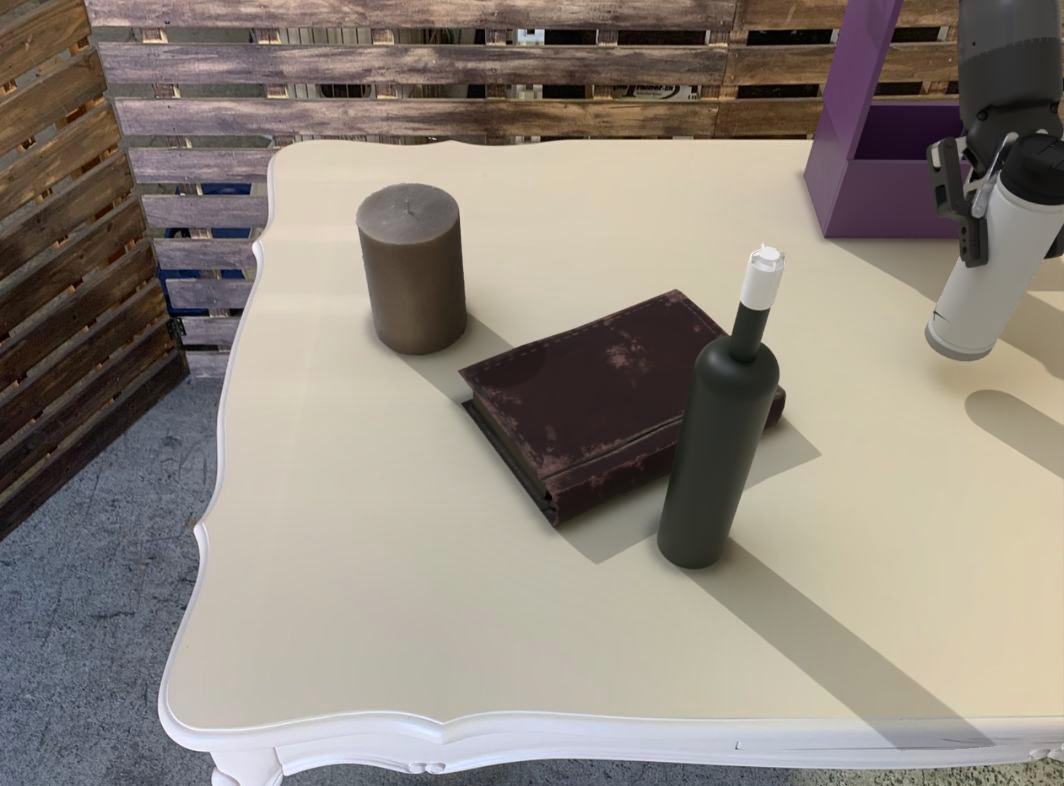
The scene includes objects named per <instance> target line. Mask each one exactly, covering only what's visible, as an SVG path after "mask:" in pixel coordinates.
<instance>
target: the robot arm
mask: <svg viewBox="0 0 1064 786" xmlns="http://www.w3.org/2000/svg"><path fill="white" fill-rule="evenodd" d="M1062 19H1063V18H1062V3H1061V0H958V17H957V27H956V55H957V83H958V102H959V111H960V119H961V121H962V122H963V124H964V127H963V131H962V134H961V136H960V138H954V137H951V136H950V137H947V138H945V139H943V140H940V141H938V142H936V143H934V144H932V145H930V146H929V147H928V148H927V151H926V155H927V162H928V169H929V176H930V182H931V189H932V196H933V203H934V210H935V214H936V216H938V217H940V218H942V217H947V218H951V219H954V220H955V221H956V222H957V223H958V226H959V239H958V243H959V256H960V257H961V260H962V262H964V261H965V266H966V267H967V268H974V267H979V266H984V265H986V264H987V263H988V260H989V255H988V226H987V218H985V219H982V216H983V215H984V214H985V212H986V209H987V207H988V204H989V197H990V194H991V191H992V189H993V187H994V185H995V184H996V183H997V177H998V174H999V172H1000V170H1001V169H1002V167H1003V165H1004V164H1005V161H1006V159H1007V157H1008V155H1009V153H1010V151H1011V148H1012V146H1013V144H1014V142H1015V140H1016V138H1018V137H1019V136H1020V135H1023V134H1027V133H1045V134H1051V135H1054V136H1058V137H1059V139H1058V140H1063V141H1064V123H1063V120H1061V117H1060V114H1059V107H1060V102H1061V101H1062V98H1063V96H1064V75H1063V24H1062V21H1063V20H1062ZM963 155H964V157H965V158H966V159H967V161H968V162H969V163H970V165H971V168H970V171H969V173H968V176H967V178H966V181H965V183H964V186H963V184H962V177H961V170H960V162H961V160H962V157H963ZM1063 255H1064V224H1063V225H1062V227H1061V229H1060V231H1059V232H1058V234H1057V236H1056V238H1055V239H1054V241H1053V243H1052V245H1051V246H1050V248H1049V250H1048V252H1047V253H1046V255H1045V257H1044V259H1043V260H1051V259H1055V258H1059V257H1060V258H1061V257H1063Z"/></svg>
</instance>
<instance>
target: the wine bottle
mask: <svg viewBox="0 0 1064 786" xmlns="http://www.w3.org/2000/svg"><path fill="white" fill-rule="evenodd" d="M786 253H787V250H784V251H779V250H778V249H776V248H775V247H772V246H766V245H765V244H764V242H762V243H761V246H760V249H756V250H754V251H753V252H751V254H750V255H749V258H748V262H747V266H746V269H745V274H744V278H743V281H742V285H741V290H740V293H739V303H738V307H737V311H736V315H735V320H734V323H733V327H732V331H731V333H730V334H731V335H730V334H728V335H729V336H724V337H721V338H718V339H716V340H714V341H712V342H710V343H709V344H708V345H706V346H705V347H704V348H703V350H702V351H701V352H700V354H699V355H698V357H697V359H696V362H695V365H694V370H693V375H692V379H691V384H690V388H689V393H688V397H687V402H686V406H685V411H684V415H683V420H682V424H681V429H680V434H679V438H678V443H677V447H676V452H675V456H674V461H673V465H672V470H671V473H669V474H670V476H669V479H668V482H667V483H668V484H667V489H666V493H665V498H664V501H663V506H662V512H661V516H660V520H659V525H658V529H657V533H656V544H657V547H658V550H659V551H660V553H661V555H662V556H663V557H664V559H666V560H667V561H668V562H670V563H671V564H673V565H674V566H677V567H680V568H682V569H688V570H701V569H702V570H703V569H706V568H708V567H710V566H712V565H714V564H715V563H717V561H719V559H721V556H722V555H723V552H724V549H725V548H726V547H725V546H726V545H727V540H728V538H729V535H730V531H731V528H732V525H733V523H734V519H735V516H736V513H737V510H738V507H739V505H740V501H741V498H742V495H743V493H744V489H745V486H746V483H747V480H748V477H749V474H750V471H751V467H752V466H753V462H754V459H755V455H756V453H757V450H758V446H759V443H760V441H761V439H762V435H763V431H764V430H765V429H764V426H765V423H766V420H767V417H768V413H769V410H770V407H771V404H772V401H773V398H774V395H775V392H776V389H777V386H778V384H779V383H780V378H781V377H780V376H781V370H780V365H779V361H778V359H777V357H776V355H775V354H774V352H773V351H772V350H771V349H770V347H768V346H767V345H766V344H765V343H763V342H762V341H763V340H762V339H763V336H764V332H765V329H766V326H767V322H768V319H769V315H770V313H771V312H770V311H771V308H772V307H773V306H774V303H775V300H776V298H777V294H778V290H779V287H780V283H781V280H782V277H783V273H784V270H785V266H786V264H787V263H786V258H785V257H786Z"/></svg>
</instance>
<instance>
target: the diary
mask: <svg viewBox="0 0 1064 786" xmlns="http://www.w3.org/2000/svg"><path fill="white" fill-rule="evenodd" d="M729 335H730V334H728V333H727V331H726V330H725V329H723V328H722V327H721V326H720V325H719V324H718V323H717V322H716V321H715V320H714V319H713V318H712V317H711V316H710V315H709V314H708V313H706V312H705V311H704V310H703V309H702V307H700V306H699V305H697V304H696V303H695V302H694V301H693V300H692V299H690V298H689V297H688V296H687V295H686V294H685V293H684V292H682V291H681V290H679V289H678V288H674V289H671V290H669V291H667V292H664V293H661V294H659V295H656V296H654V297H651V298H649V299H646V300H644V301H640V302H638V303H635V304H633V305H630V306H628V307H626V308H623V309H620V310H618V311H615V312H612V313H610V314H607V315H605V316H602V317H600V318H597V319H595V320H592V321H589V322H587V323H584V324H582V325H579V326H577V327H574V328H571V329H568V330H565V331H562V332H558V333H555V334H553V335H549V336H547V337H543V338H540V339H537V340H534V341H531V342H528V343H525V344H520V345H519V346H516V347H513V348H511V349H509V350H506V351H504V352H501V353H499V354H496V355H494V356H491V357H488V358H485V359H483V360H481V361H478V362H476V363H474V364H471V365H468V366H466V367H463V368H460V369H458V370H457V373H458V374H459V375H460V376H461V378H462V379H463V380H464V382H465V383H466V384H467V385H468V387H469V388H470V389H471V390H472V398H470V399H467V400H464V401H463V402H460V405H461V406H462V408H464V410H465V411H466V413H467V414H468V416H469V417H470V418H471V419H472V421H473V422H474V423H475V425H476V426H477V427H478V429H479V430H480V432H481V433H482V434H483V436H484V437H485V439H486V440H487V441H488V442H489V443H490V445H491V446H492V447H493V448H494V450H495V452H496V453H497V454H498V456H499V457H500V458H501V460H502V461H503V462H504V464H505V465H506V466H507V468H508V469H509V470H510V472H511V473H512V474H513V476H514V477H515V478H516V480H517V481H518V482H519V484H520V486H521V487H522V488H523V489H524V491H525V492H526V493H527V495H528V496H529V498H530V499H531V500H532V501H533V503H534V504H535V505H536V507H537V508H538V509H539V511H540V513H542V515H543V516H544V517H545V519H546V521H547V522H548V523H549V524H550V526H551V527H552V528H555V527H556V526H559V525H561V524H563V523H565V522H567V521H569V520H571V519H573V518H575V517H578V516H580V515H582V514H583V513H586V512H588V511H590V510H591V509H593V508H595V507H597V506H600V505H602V504H604V503H606V502H607V501H610V500H611V499H613V498H616V497H618V496H620V495H622V494H625V493H627V492H630V491H632V490H634V489H636V488H638V487H641V486H643V485H645V484H648V483H650V482H653V481H655V480H656V479H660V478H662V477H664V476H667V475H668V474H671V470H672V465H673V461H674V456H675V452H676V447H677V443H678V438H679V434H680V429H681V424H682V420H683V415H684V411H685V406H686V402H687V397H688V393H689V388H690V384H691V379H692V375H693V370H694V365H695V362H696V359H697V357H698V355H699V354H700V352H701V351H702V350H703V348H704V347H705V346H706V345H708V344H709V343H710V342H712V341H714V340H716V339H718V338H721V337H724V336H729ZM786 392H787V391H786V390H785V389H784V388H783V386H781V385H780V384H779V383H778V386H777V389H776V392H775V395H774V398H773V401H772V404H771V407H770V410H769V413H768V417H767V420H766V423H765V426H764V429H763V430H765V429H767V428H768V429H769V428H770V427H772V426H774V425H777V423H778V422H779V421H780V419H781V418H782V415H783V412H784V409H785V406H786V399H787V393H786Z"/></svg>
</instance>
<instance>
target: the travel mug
mask: <svg viewBox="0 0 1064 786" xmlns="http://www.w3.org/2000/svg"><path fill="white" fill-rule="evenodd" d="M1058 139H1059V137H1058V136H1054V135H1051V134H1045V133H1027V134H1023V135H1020V136H1019V137H1018V138H1016V140H1015V142H1014V144H1013V146H1012V148H1011V151H1010V153H1009V155H1008V157H1007V159H1006V161H1005V164H1004V165H1003V167H1002V169H1001V170H1000V172H999V174H998V177H997V183H996V184H995V185H994V187H993V189H992V191H991V194H990V197H989V204H988V207H987V209H986V212H985V214H984V215H983V216H982V219H985V218H987V226H988V255H989V260H988V263H987V264H986V265H984V266H979V267H974V268H967V267H966V266H965V261H964V262H962V260H961V257H960V255H959V256H958V258H957V261H956V263H955V265H954V267H953V269H952V271H951V273H950V275H949V277H948V280H947V281H946V284H945V285H944V288H943V290H942V292H941V294H940V296H939V297H938V300H937V302H936V304H935V307H934V309H933V311H932V312H931V315H930V317H929V320H928V321H927V323H926V325H925V328H924V338H925V340H926V342H927V344H928V345H929V347H930V348H931V349H932V350H934V351H935V352H936V353H937V354H939V355H940V356H942V357H945V358H947V359H950V360H953V361H958V362H966V363H967V362H975V361H980V360H981V359H985V358H986V357H987V356H989V354H990V353H991V352H992V350H993V348H994V347H995V345H996V344H997V341H998V340H999V338H1000V336H1001V335H1002V333H1003V331H1004V330H1005V327H1006V326H1007V324H1008V322H1009V321H1010V318H1011V317H1012V315H1013V314H1014V311H1015V310H1016V308H1017V307H1018V305H1019V303H1020V301H1021V299H1022V298H1023V296H1024V293H1025V292H1026V291H1027V289H1028V287H1029V286H1030V283H1031V281H1032V280H1033V278H1034V276H1035V275H1036V273H1037V271H1038V269H1039V268H1040V266H1041V264H1042V263H1043V261H1044V260H1045V259H1044V257H1045V255H1046V253H1047V252H1048V250H1049V248H1050V246H1051V245H1052V243H1053V241H1054V239H1055V238H1056V236H1057V234H1058V232H1059V231H1060V229H1061V227H1062V225H1063V224H1064V141H1063V140H1058Z"/></svg>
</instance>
